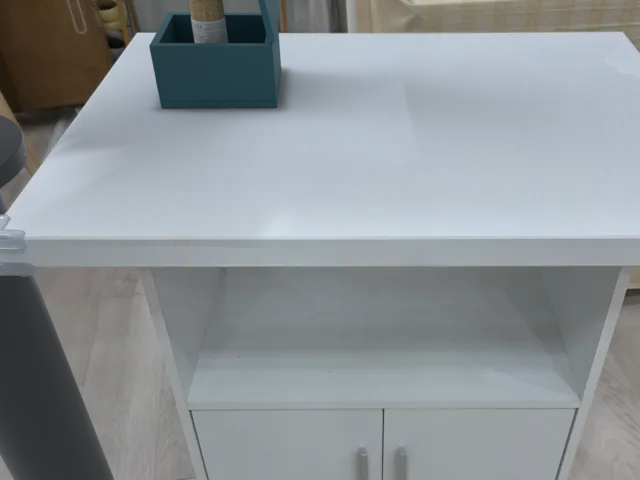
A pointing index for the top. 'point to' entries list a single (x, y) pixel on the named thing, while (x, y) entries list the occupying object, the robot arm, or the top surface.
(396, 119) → the top surface
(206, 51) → the teal hollow box
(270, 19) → the lid
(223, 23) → the sprinkles bottle
